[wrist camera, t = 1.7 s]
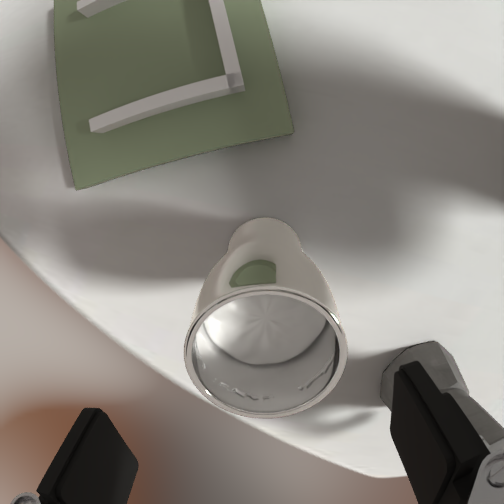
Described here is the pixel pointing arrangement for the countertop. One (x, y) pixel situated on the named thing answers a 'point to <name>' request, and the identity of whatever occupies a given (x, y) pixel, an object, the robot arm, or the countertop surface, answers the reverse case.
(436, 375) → the coffeepot
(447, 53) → the countertop surface
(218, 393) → the beer glass
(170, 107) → the plate
